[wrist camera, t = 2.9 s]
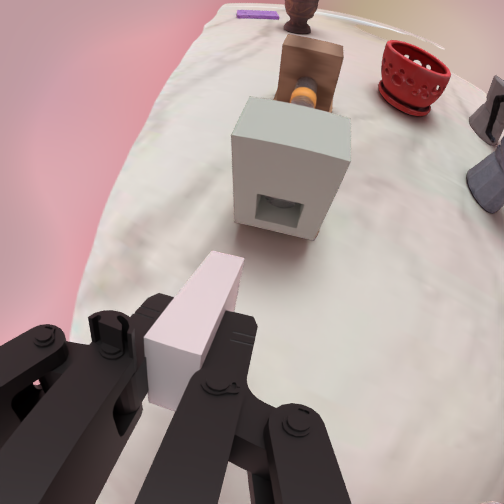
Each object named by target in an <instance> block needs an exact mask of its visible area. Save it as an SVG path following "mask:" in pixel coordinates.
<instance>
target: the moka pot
mask: <svg viewBox="0 0 504 504" xmlns="http://www.w3.org/2000/svg"><path fill="white" fill-rule="evenodd" d="M501 102H504V95H497V96H495V98H494V101H493V105H492V110H491V115H490V117H489V122H488V126H487V128H486V131H485V133H486V135H487V136H488V138H489V139H490V141H491V142H492V143H494V142H496V139H495V138H494V137H493V135H492V130H493V124H494V123H495V120H496V118H497V115H498V111H499V108H500V103H501ZM467 180H468V185H469V187H470V190H471V192H472V194H473V196H474V197H475V199H476V200H477V201H478V203H479V204H480V206H482V207H483V208H484V209H485V210H486V211H488V212H489V213H495V212H497V211H498V210H499V209H500V208H501V207H502V206H503V205H504V137H503V138H502V140H501V145H498V146H497V149H496V151H495V152H493V153H491V154H490V155H489V156H487V157H486V158H485V159H484V160H482V161H481V162H480V163H478V164H477V165H475V166H474V167H473V168H471V169H470V170H469V171H468V173H467Z"/></svg>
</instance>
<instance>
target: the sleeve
mask: <svg viewBox="0 0 504 504" xmlns="http://www.w3.org/2000/svg"><path fill="white" fill-rule="evenodd" d="M231 144H232V172H233V197H234V220H235V222H236V223H241V224H245V225H249V226H254V227H258V228H262V229H267V230H271V231H275V232H280V233H284V234H288V235H292V236H296V237H300V238H305V239H309V240H313V241H314V239H315V237H316V235H317V233H318V231H319V229H320V227H321V224H322V222H323V220H324V218H325V216H326V214H327V212H328V210H329V208H330V206H331V204H332V201H333V199H334V197H335V195H336V193H337V191H338V189H339V186H340V184H341V182H342V180H343V178H344V175H345V173H346V171H347V169H348V167H349V164H350V162H351V118H348V117H344V116H341V115H337V114H333V113H330V112H326V111H322V110H318V109H314V108H309V107H305V106H301V105H296V104H291V103H286V102H281V101H276V100H270V99H265V98H258V97H252V96H250V97H249V99H248V101H247V103H246V105H245V107H244V109H243V111H242V113H241V115H240V117H239V119H238V121H237V124H236V126H235V128H234V130H233V132H232V134H231ZM265 195H266V196H270V197H275V198H279V199H283V200H288V201H292V202H296V203H297V204H296V205H295V206H294V207H292V208H279V207H276V206H273V205H271V204H270V203H269V202H268V201H267V200H266V198H265Z"/></svg>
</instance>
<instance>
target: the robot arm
mask: <svg viewBox="0 0 504 504" xmlns="http://www.w3.org/2000/svg"><path fill="white" fill-rule="evenodd" d="M244 259H245V258H242V257H238V256H234V255H229V254H225V253H221V252H216V251H211V252H210V253H209V255H208V256H207V257H206V258H205V260H204V261H203V262H202V263H201V265H200V266H199V267H198V268H197V269H196V271H195V272H194V273H193V274H192V276H191V277H190V278H189V280H188V281H187V282H186V283H185V285H184V286H183V287H182V288H181V290H180V291H179V292H178V293H177V295H176V296H175V297H171V296H168V295H164V294H161V293H158V294H156V295H154V296H151V297H149V298H148V299H147V300H146V301H145V302H144V303H143V304H142V305H141V307H139V308H138V309H137V310H136V311H135V314H133V315H132V316H131V317H129V316H127V315H126V314H124V313H122V312H118V311H113V310H109V311H100V312H96V313H94V314H92V315H91V316H89V317H88V320H89V326H90V332H91V338H92V342H91V344H90V345H85V344H79V343H73V342H68V341H66V338H65V335H64V333H63V331H62V330H61V329H60V328H58V327H57V326H54V325H50V324H46V325H39V326H36V327H34V328H32V329H30V330H28V331H26V332H25V333H23V334H21V335H19V336H18V337H16V338H14V339H12V340H10V341H9V342H7V343H5V344H4V345H2V346H0V504H95V502H96V500H97V498H98V497H99V495H100V493H101V491H102V489H103V487H104V485H105V483H106V481H107V479H108V477H109V475H110V473H111V471H112V469H113V467H114V466H115V464H116V462H117V460H118V458H119V456H120V454H121V452H122V450H123V448H124V447H125V445H126V443H127V441H128V439H129V437H130V435H131V433H132V432H133V430H134V428H135V426H136V424H137V422H138V420H139V419H140V417H141V414H142V410H143V408H142V401H143V399H144V398H145V396H146V394H147V392H148V400H149V402H150V403H153V404H155V405H158V406H161V407H164V408H167V409H170V410H173V411H175V414H174V416H173V418H172V420H171V423H170V425H169V427H168V429H167V432H166V434H165V436H164V438H163V441H162V443H161V445H160V447H159V450H158V452H157V454H156V456H155V459H154V461H153V463H152V465H151V468H150V470H149V472H148V474H147V477H146V479H145V481H144V483H143V486H142V488H141V490H140V492H139V495H138V497H137V499H136V501H135V504H218V500H219V496H220V492H221V488H222V484H223V480H224V476H225V472H226V468H227V464H228V461H229V462H231V463H233V464H235V465H237V466H239V467H241V468H243V469H245V470H247V474H248V482H249V490H250V498H251V504H351V501H350V498H349V495H348V492H347V489H346V486H345V483H344V480H343V477H342V474H341V471H340V468H339V465H338V462H337V459H336V456H335V454H334V451H333V448H332V445H331V442H330V439H329V436H328V433H327V430H326V427H325V424H324V422H323V420H322V419H321V417H320V415H319V414H318V413H316V412H315V411H314V410H313V409H312V408H309V407H307V406H304V405H302V404H294V403H290V404H284V405H281V406H279V407H278V408H275V407H273V406H271V405H268V404H266V403H264V402H263V401H261V400H259V399H258V398H256V397H255V396H254V395H253V394H252V392H251V391H250V389H249V388H248V385H247V374H248V369H249V365H250V360H251V355H252V351H253V346H254V341H255V337H256V332H257V327H258V326H257V324H256V322H255V319H254V317H252V316H248V315H244V314H239V313H235V312H234V310H235V305H236V300H237V295H238V290H239V284H240V279H241V274H242V269H243V264H244ZM36 380H39V382H40V384H39V385H33V382H35V381H36Z"/></svg>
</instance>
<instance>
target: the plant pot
mask: <svg viewBox="0 0 504 504" xmlns="http://www.w3.org/2000/svg"><path fill="white" fill-rule="evenodd" d="M404 55H409V58H406V57H404ZM414 60H419V61H420V62H421V64H422V66H420V65H418V64H416V63H415V62H413V61H414ZM427 65H430V66H431V70H429V69H427V68H426V66H427ZM381 74H382V80H381V81H380V82H379V85H378V87H379V91H380V93H381V94H382V96H383V97H384V98H385V100H386V101H387V102H389V103H390V104H391V105H392V106H394V107H395V108H397V109H399V110H401V111H403V112H405V113H407V114H410V115H414V116H424V115H427V114H428V113H429V112H430V110H431V106H430V105H431V104H432V103H434V102H435V101H436V100H437V99H438V98H439V97H440V96H441V94H442V93H443V91H444V90H445V88H446V86H447V84H448V82H449V79H450V77H451V73H450V71H449V69H448V68H447V67H446V66H445V65H444V64H443V63H442V62H441V61H440V60H439V59H437V58H436V57H434V56H433V55H431V54H430V53H428V52H426V51H425V50H423V49H421V48H419V47H416V46H414V45H411V44H409V43H406V42H402V41H397V40H390V41H388V42H387V43H386V46H385V50H384V53H383V58H382V66H381ZM437 85H439V89H438V90H436V88H437Z"/></svg>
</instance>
